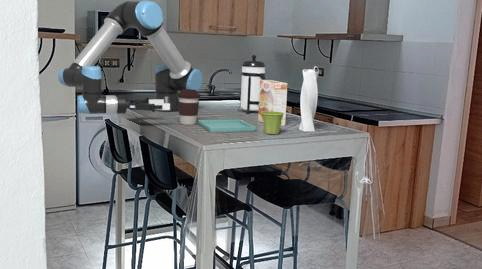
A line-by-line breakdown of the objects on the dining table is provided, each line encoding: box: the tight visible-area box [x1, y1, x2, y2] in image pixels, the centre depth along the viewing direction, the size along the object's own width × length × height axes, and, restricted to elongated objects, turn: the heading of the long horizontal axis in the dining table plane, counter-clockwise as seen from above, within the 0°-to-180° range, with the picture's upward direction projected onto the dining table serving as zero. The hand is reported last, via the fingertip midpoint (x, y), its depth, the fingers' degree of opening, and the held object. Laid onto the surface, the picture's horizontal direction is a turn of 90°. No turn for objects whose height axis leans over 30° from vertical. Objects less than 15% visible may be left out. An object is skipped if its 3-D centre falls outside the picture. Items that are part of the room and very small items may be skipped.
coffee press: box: [237, 54, 267, 114], centre depth 262 cm, size 17×16×30 cm
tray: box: [197, 119, 257, 133], centre depth 215 cm, size 20×20×2 cm
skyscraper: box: [296, 65, 320, 133], centre depth 213 cm, size 8×8×28 cm
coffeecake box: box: [257, 79, 288, 127], centre depth 230 cm, size 15×7×20 cm, turn 23°
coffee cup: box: [177, 89, 201, 126], centre depth 220 cm, size 10×10×15 cm
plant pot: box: [261, 111, 284, 135], centre depth 206 cm, size 9×9×9 cm
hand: (166, 104), depth 216 cm, fingers open, 13 cm apart
